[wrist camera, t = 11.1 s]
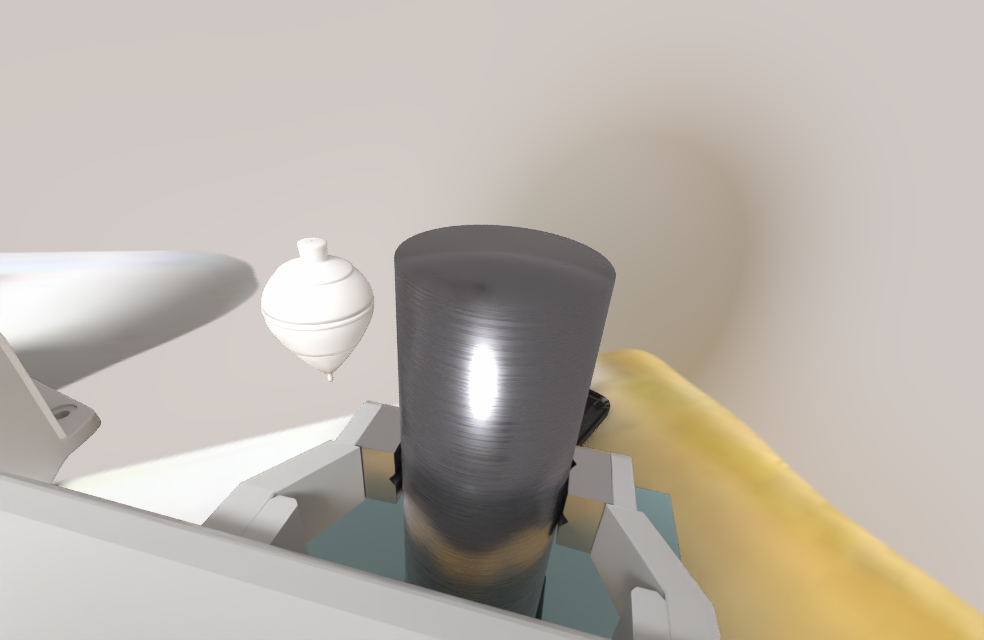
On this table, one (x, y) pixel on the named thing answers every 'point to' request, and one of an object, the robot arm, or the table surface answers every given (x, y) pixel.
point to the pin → (492, 401)
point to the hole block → (568, 580)
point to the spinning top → (318, 306)
